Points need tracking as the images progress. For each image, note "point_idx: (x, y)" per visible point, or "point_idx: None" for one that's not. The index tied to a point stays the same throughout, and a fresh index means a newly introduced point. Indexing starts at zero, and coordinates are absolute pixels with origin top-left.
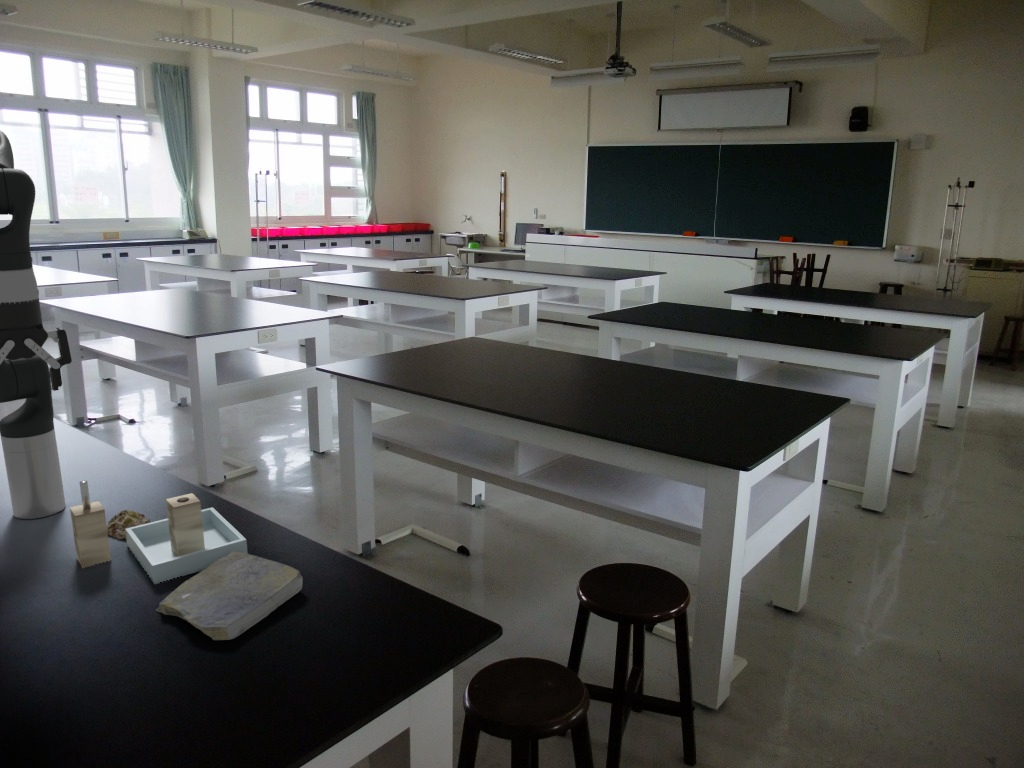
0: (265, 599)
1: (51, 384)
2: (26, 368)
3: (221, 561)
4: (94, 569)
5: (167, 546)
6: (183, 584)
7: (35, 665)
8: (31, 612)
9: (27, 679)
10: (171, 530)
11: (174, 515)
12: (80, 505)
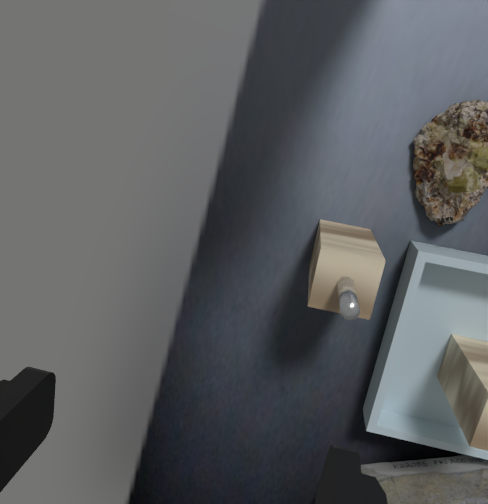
0: None
1: (333, 456)
2: None
3: (461, 480)
4: None
5: (454, 316)
6: None
7: (165, 467)
8: (199, 346)
9: (150, 484)
10: (460, 372)
11: (463, 432)
12: (342, 255)
